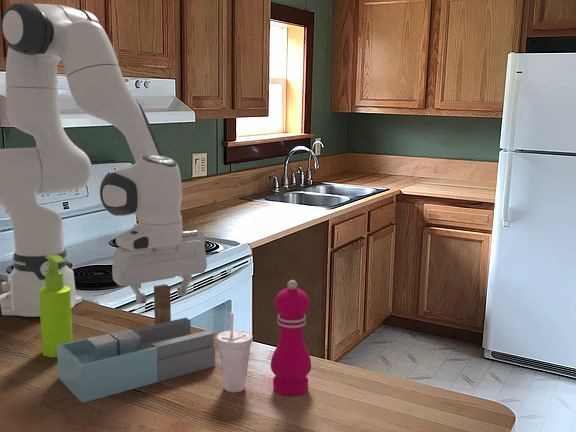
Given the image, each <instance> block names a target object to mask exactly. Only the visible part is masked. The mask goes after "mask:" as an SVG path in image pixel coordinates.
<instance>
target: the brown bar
mask: <svg viewBox="0 0 576 432" xmlns="http://www.w3.org/2000/svg"><path fill="white" fill-rule="evenodd" d="M153 303H154V304H153V305H154V307H153V309H154V323H153V324H152V325H154V324H159V323H163V322H168V321H172V314H171V313H172V312H171V311H172V310H171V286H169V285H168V284H165V283H162V284H157V285H153ZM150 325H151V324H148V325H147V326H150Z"/></svg>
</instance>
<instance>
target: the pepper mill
mask: <svg viewBox="0 0 576 432" xmlns="http://www.w3.org/2000/svg"><path fill="white" fill-rule="evenodd" d="M286 286H287V287H286V288H283V289H282V290H280V291H279V292H278V293H277V295H276V296H275V299H274V307H275V309H276V311H277V313H278V314H277V322H276V323H277V325H279V329H280V333H279V340H278V343H277V345H276V347H275V350H274V351H273V354H272V356H271V359H270V369H271V371H272V373H273V375H274V377H273V380H272V384H273V385H272V388H273V390H274V391H275V392H276V393H278V395H279V394H280V395H281V396H282V395H283V396H289V397H290V396H291V397H292V396H300V395H302V394H304V393H306V392H307V391H308V388H309V378H308V375H309V373H310V372H311V370H312V359H311V355H310V352H309V351H308V348H307V346H306V343H305V341H304V334H303V333H304V326H305V325H306V324H307V321H306V319H307V316H306V315H305V314H306V313H307V312H308V310H309V307H310V299H309V296H308V294H307V292H305V291H304V290H303V289H300V288H297V287H298V283H297V281H296V280H295V279H291V280H289V281H288V282H287V285H286Z"/></svg>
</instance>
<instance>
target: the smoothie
mask: <svg viewBox="0 0 576 432" xmlns="http://www.w3.org/2000/svg"><path fill="white" fill-rule="evenodd" d="M253 343H254V342H253V334H252V333H250V332H248V331H245V330H239V329H238V330H237V329H234V312H229V330H225V331H221V332H220V333H218V334H217V335H216V345H218V351H219V359H220V366H221V374H222V381H223V387H224V390H225V391H226V392H228V393H238V392H242V391H245V388H246V381H247V375H248V368H249V367H248V366H249V359H250V352H251V345H252V344H253Z"/></svg>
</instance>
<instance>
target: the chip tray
mask: <svg viewBox="0 0 576 432" xmlns="http://www.w3.org/2000/svg"><path fill="white" fill-rule="evenodd" d="M125 330H130V328H128V329H124V330H123V329H122V330H118V331H114V332H113V331H112V332H109V333H107V334H109V335H111V333H116V332H120V331H125ZM105 334H106V333H105ZM105 334H103V335H105ZM101 335H102V334H101ZM101 335H98V336H101ZM96 336H97V335H95V336H93V337H96ZM91 337H92V336H90V337H89V338H91ZM87 338H88V337H85V338H81V339H77V340H73V341H71V342H67V343H62V344H57V357H56V359H57V374H58V375H57V376H58V379H59V380H60V382H61V383H62V384H64V386H65V387H66V388H67V389H68V390H69V391H70V393H72V395H73V396H75V398H76V399H77V400H78V401H79V402H80V403H81V404H84V403H89V402H91V401H95V400H99V399H102V398H105V397H109V396H112V395H117V394H120V393H124V392H128V391H131V390H134V389H138V388H142V387H145V386H149V385H153V384H156V383H159V382H158V373H157V348H156V347H152V348H148V349H144V350H140V351H136V352H131V353H127V354H123V355H119V356H115V357H111V358H107V359H102V360H98V361H94V362H90V361H89V360H88V353H87Z"/></svg>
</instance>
